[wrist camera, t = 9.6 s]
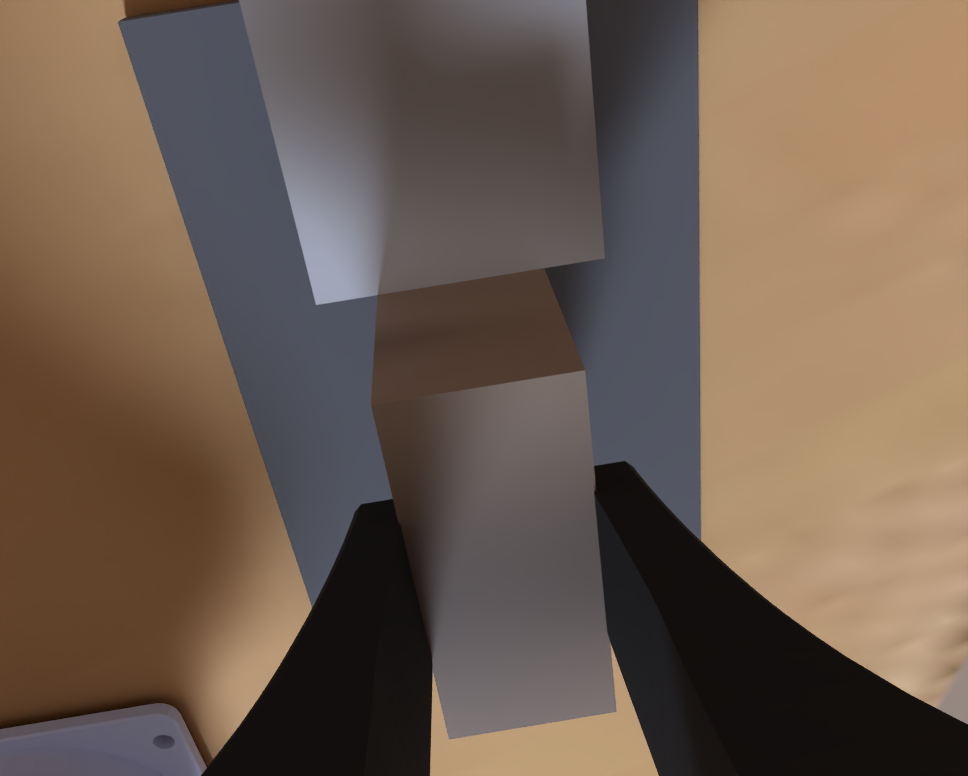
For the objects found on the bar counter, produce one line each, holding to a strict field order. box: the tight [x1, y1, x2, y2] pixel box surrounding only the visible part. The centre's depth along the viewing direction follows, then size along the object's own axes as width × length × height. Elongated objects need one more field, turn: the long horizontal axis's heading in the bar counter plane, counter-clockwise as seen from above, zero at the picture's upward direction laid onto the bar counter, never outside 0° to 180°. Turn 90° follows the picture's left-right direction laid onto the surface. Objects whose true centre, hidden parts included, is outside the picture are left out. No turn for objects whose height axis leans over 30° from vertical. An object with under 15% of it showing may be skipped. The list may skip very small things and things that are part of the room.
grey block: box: [239, 0, 616, 739], centre depth 12 cm, size 11×4×4 cm, turn 8°
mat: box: [118, 0, 701, 608], centre depth 17 cm, size 14×9×1 cm, turn 8°
